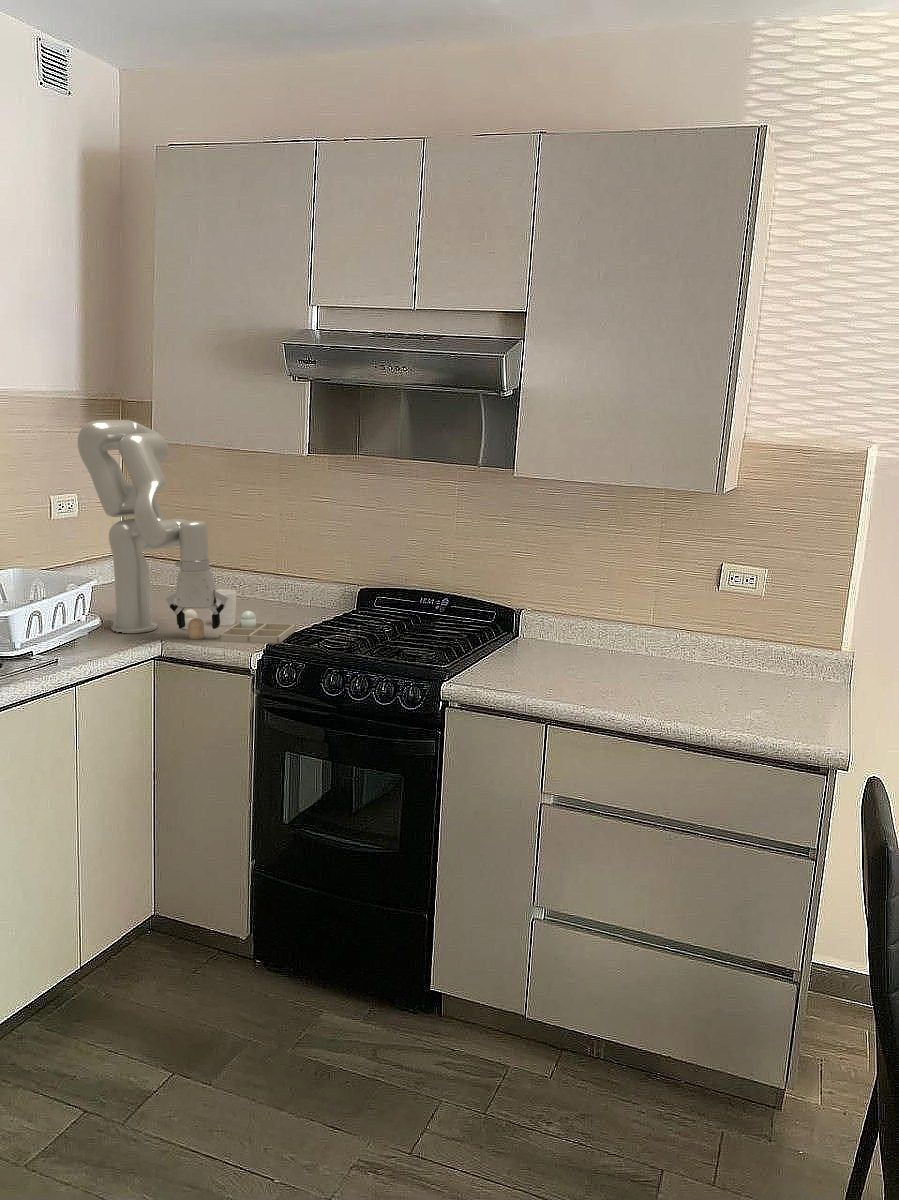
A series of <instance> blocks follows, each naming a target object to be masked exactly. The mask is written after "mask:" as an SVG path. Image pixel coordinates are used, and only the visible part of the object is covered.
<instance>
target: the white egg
mask: <svg viewBox="0 0 899 1200" xmlns="http://www.w3.org/2000/svg"><path fill="white" fill-rule="evenodd" d="M183 612H184V614H185V627H183V628H182V629H183V630H186V631H189V627H188V625H189V622H190V620H191V619H193V618H199V617H198V615H199V614H198V613H197V611H196V610H194V609H193V608H187V609H186V610H184V611H183Z"/></svg>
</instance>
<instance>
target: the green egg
mask: <svg viewBox="0 0 899 1200" xmlns="http://www.w3.org/2000/svg"><path fill="white" fill-rule="evenodd" d="M240 622H241V628H243V629H256V623H257V616H256V614H255V612H253V611H251V610H246V611H243V613H242V614H241V616H240Z"/></svg>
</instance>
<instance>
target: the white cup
mask: <svg viewBox="0 0 899 1200" xmlns="http://www.w3.org/2000/svg"><path fill="white" fill-rule="evenodd" d="M216 592H218V593H220V594H222V595H224V596H226V597H227V598H228V601H227V603H226V605H225V608H224V609H223V610H222V611H221V612H220V613H219V614H220V625H219V627H226V626H228V627H229V626H233V625H235V624H236V613H237V590H234V589H216ZM220 604H221V600H219V599H217V602H216V605H217V606H219V605H220ZM209 612H210V619H211V621H212V615H213V612H212V611H211V610H210V609H209Z"/></svg>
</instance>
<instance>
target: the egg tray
mask: <svg viewBox="0 0 899 1200" xmlns="http://www.w3.org/2000/svg"><path fill="white" fill-rule="evenodd" d="M296 631H297V624H296V623H272V622H256V629H243V628H241V621H238V622H237V623H236V622H235V624H233V625H231V626H230V627H229V628H226V629H224V631H222V632H221V633H219V634H218V642H228V643H249V644H271V645H272V644H274V645H280V644H281V643H282V642H283V641H284V640H286V639H287V638H288V637H290V636H291V635H292V634H294V633H295V632H296Z"/></svg>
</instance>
